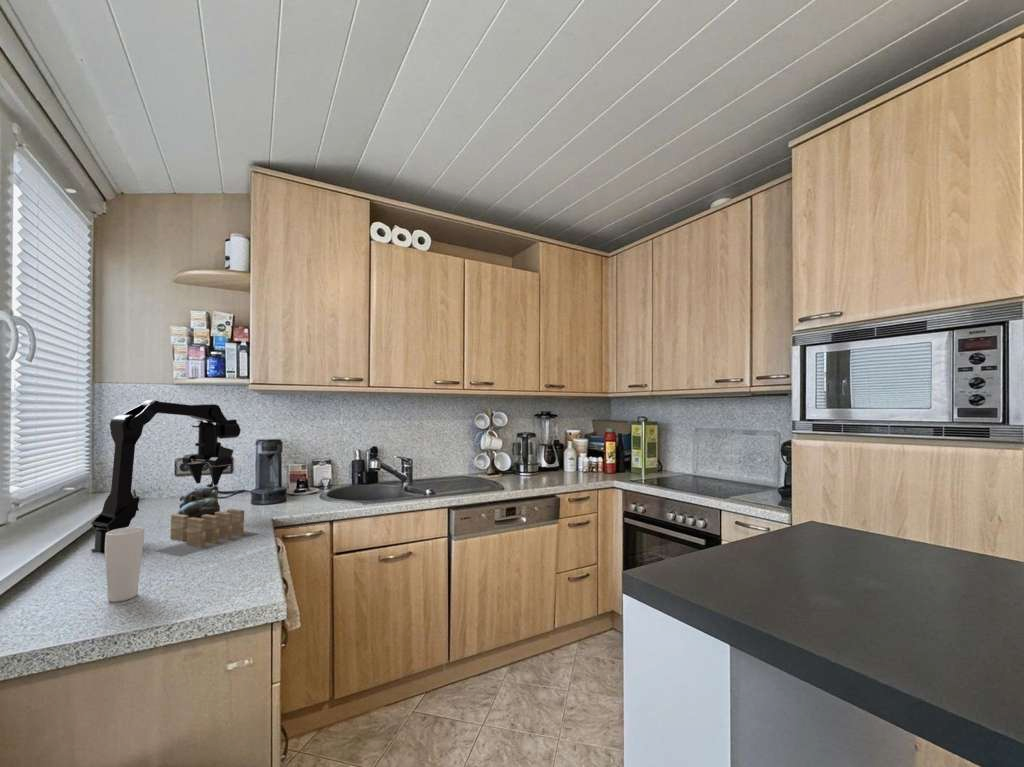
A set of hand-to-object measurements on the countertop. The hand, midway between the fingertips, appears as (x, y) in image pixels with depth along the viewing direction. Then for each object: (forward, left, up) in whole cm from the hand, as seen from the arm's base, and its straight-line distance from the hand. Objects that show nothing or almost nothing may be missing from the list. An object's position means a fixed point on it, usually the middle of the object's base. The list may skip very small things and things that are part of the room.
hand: (206, 484), depth 165 cm
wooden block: (-8, -20, -14) cm, 26 cm away
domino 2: (-16, -20, -14) cm, 29 cm away
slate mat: (-12, -20, -15) cm, 27 cm away
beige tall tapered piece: (-46, -42, -15) cm, 64 cm away
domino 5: (-4, -20, -14) cm, 25 cm away
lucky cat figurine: (+7, +15, -15) cm, 22 cm away
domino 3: (-12, -20, -14) cm, 27 cm away
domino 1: (-14, -9, -15) cm, 22 cm away
